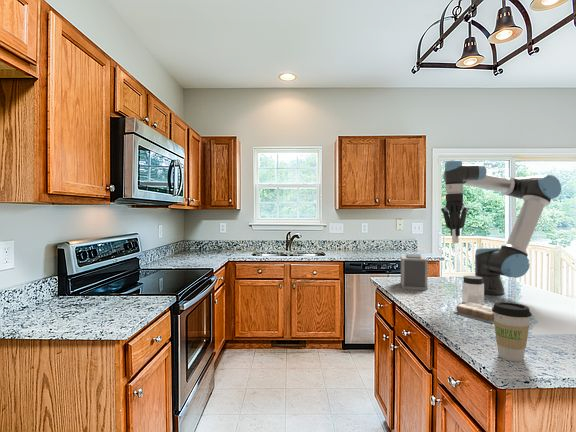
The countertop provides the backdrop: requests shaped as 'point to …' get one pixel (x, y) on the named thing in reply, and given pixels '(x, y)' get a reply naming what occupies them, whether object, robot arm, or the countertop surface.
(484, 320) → the mat
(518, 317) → the coffee cup
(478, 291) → the jar
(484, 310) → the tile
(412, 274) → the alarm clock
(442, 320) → the countertop surface
